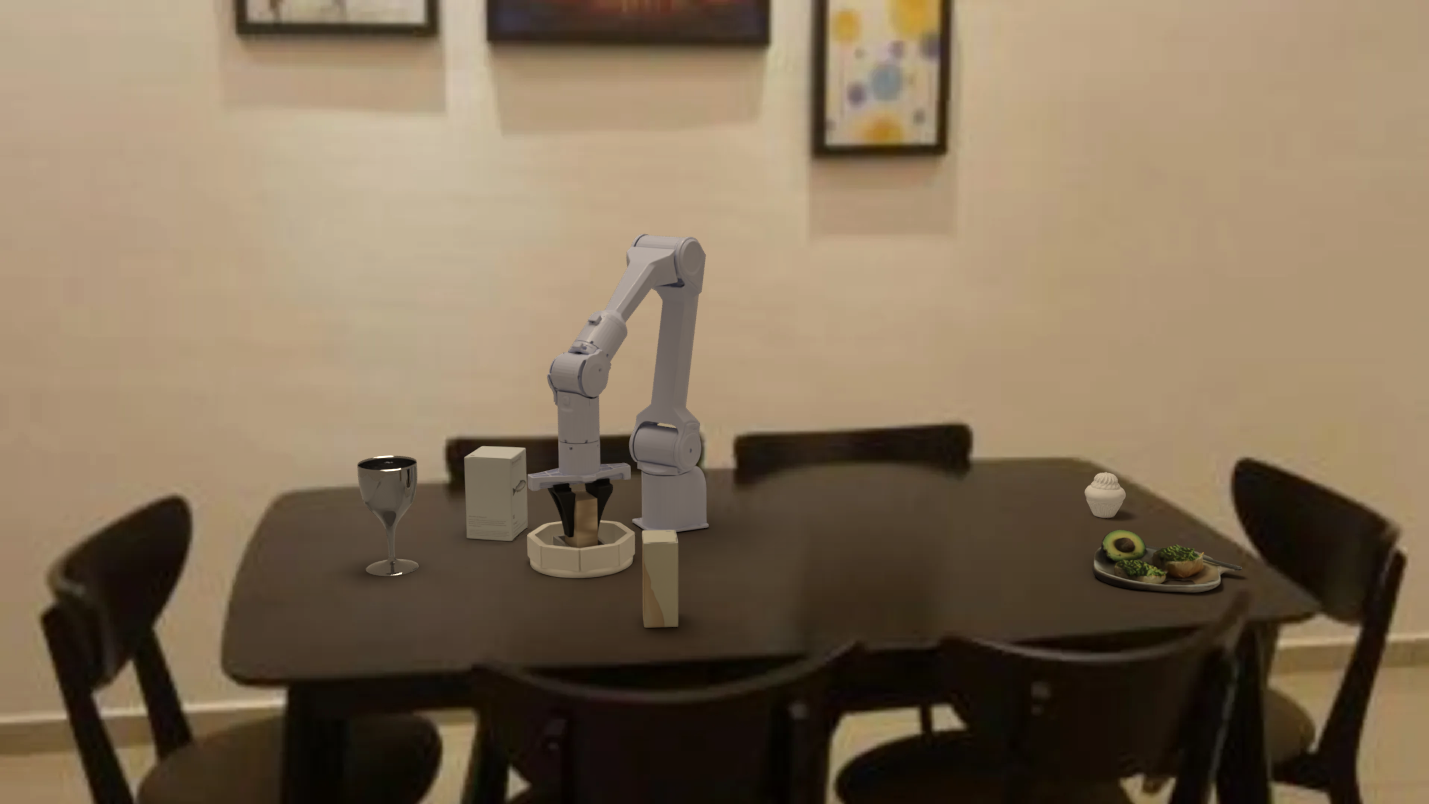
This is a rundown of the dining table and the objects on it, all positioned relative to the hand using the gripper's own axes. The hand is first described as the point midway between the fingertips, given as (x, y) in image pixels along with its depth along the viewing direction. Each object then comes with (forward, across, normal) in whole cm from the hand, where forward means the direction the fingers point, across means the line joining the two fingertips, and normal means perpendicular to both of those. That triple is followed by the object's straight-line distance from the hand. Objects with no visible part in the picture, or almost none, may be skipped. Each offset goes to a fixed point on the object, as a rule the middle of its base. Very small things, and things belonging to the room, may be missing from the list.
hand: (581, 533), depth 192 cm
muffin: (+4, +82, -15) cm, 83 cm away
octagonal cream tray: (+4, 0, 0) cm, 4 cm away
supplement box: (+4, -6, +18) cm, 20 cm away
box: (+4, 0, -26) cm, 26 cm away
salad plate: (+5, +68, -39) cm, 79 cm away
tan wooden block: (+2, 0, 0) cm, 2 cm away
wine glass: (+4, -24, +9) cm, 26 cm away
